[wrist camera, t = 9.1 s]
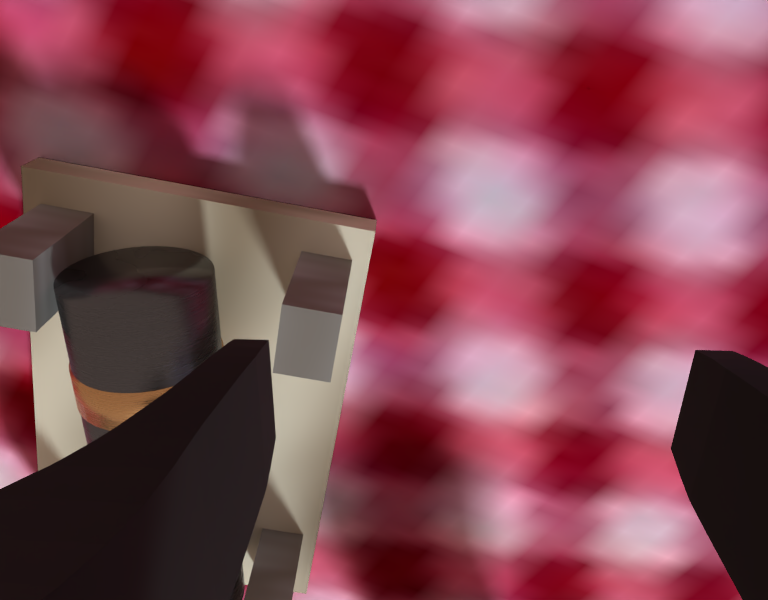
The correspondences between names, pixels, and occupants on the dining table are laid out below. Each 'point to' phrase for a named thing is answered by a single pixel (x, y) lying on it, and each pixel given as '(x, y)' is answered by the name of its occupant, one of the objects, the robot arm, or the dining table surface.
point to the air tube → (136, 331)
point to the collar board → (236, 314)
